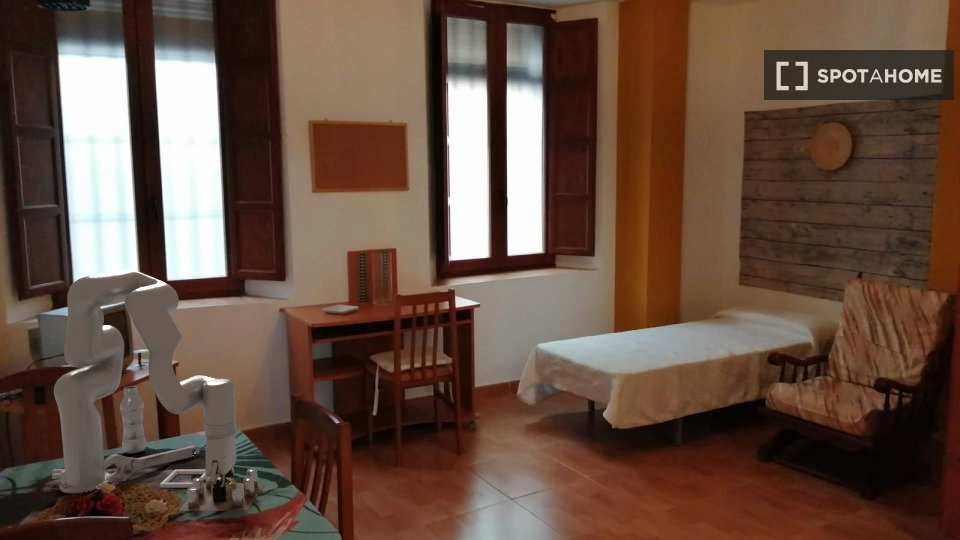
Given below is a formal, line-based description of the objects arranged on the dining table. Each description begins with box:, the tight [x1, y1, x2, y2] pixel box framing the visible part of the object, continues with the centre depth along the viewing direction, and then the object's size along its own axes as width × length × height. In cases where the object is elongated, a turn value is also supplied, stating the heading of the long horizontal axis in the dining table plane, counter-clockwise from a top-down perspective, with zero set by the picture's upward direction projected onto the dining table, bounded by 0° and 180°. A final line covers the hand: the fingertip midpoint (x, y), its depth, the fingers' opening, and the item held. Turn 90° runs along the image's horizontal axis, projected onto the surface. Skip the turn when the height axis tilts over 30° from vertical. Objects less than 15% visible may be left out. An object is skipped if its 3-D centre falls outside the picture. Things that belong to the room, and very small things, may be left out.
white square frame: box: [159, 468, 206, 489], centre depth 204 cm, size 10×10×2 cm
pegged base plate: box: [186, 467, 259, 509], centre depth 194 cm, size 16×15×4 cm
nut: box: [211, 476, 237, 501], centre depth 194 cm, size 6×6×4 cm
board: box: [177, 482, 267, 512], centre depth 194 cm, size 17×17×1 cm
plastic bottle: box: [119, 385, 147, 455], centre depth 227 cm, size 6×7×20 cm
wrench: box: [101, 445, 200, 482], centre depth 214 cm, size 8×2×30 cm
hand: (224, 495), depth 194 cm, fingers closed on nut, 5 cm apart
